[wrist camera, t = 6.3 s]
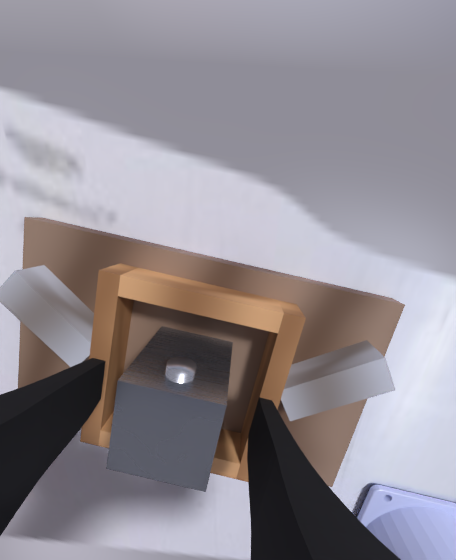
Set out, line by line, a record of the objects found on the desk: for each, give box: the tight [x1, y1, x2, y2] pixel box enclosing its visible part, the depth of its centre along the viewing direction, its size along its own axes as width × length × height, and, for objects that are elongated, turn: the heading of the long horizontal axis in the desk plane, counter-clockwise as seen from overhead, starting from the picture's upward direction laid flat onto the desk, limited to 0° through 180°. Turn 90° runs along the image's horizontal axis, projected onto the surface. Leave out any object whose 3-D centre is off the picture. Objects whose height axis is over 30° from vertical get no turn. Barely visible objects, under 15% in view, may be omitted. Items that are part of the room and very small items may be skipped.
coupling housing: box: [0, 217, 405, 487], centre depth 14 cm, size 20×12×3 cm, turn 77°
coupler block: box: [106, 326, 233, 492], centre depth 12 cm, size 4×5×5 cm
